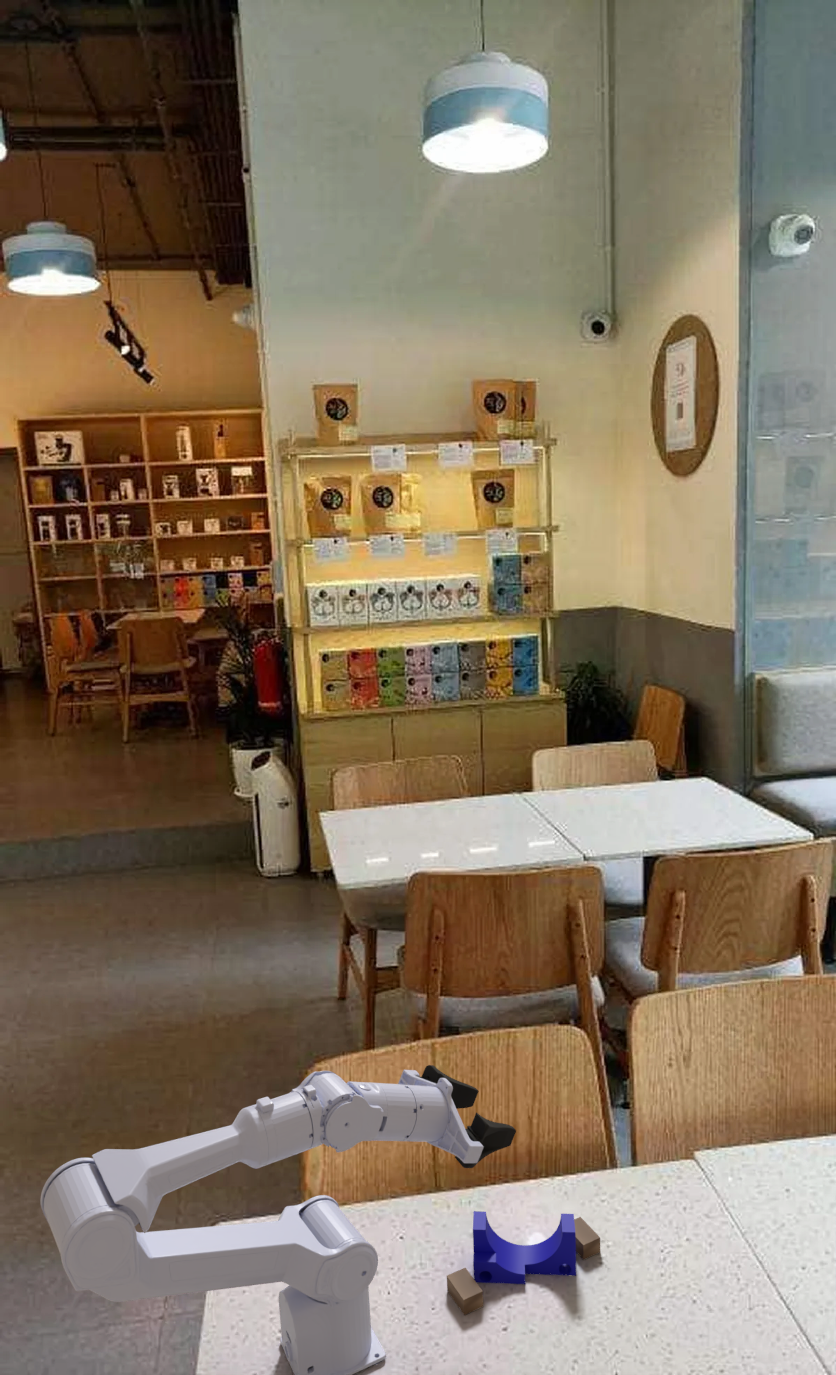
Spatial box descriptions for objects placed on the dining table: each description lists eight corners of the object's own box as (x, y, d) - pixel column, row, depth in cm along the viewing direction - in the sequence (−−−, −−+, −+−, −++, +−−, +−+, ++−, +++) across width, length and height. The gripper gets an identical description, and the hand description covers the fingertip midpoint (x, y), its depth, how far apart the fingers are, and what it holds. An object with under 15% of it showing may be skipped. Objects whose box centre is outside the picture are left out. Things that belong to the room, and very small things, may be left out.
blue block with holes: (474, 1283, 112) (472, 1239, 111) (475, 1254, 116) (473, 1211, 115) (577, 1287, 111) (576, 1241, 110) (574, 1257, 115) (573, 1213, 114)
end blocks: (464, 1315, 107) (463, 1300, 107) (447, 1290, 111) (446, 1275, 110) (600, 1251, 115) (600, 1237, 115) (580, 1230, 119) (580, 1216, 119)
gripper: (449, 1119, 98) (542, 1122, 106) (382, 1043, 110) (470, 1051, 118) (424, 1181, 98) (519, 1180, 106) (360, 1098, 110) (450, 1103, 118)
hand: (492, 1116), depth 112 cm, fingers open, 7 cm apart
